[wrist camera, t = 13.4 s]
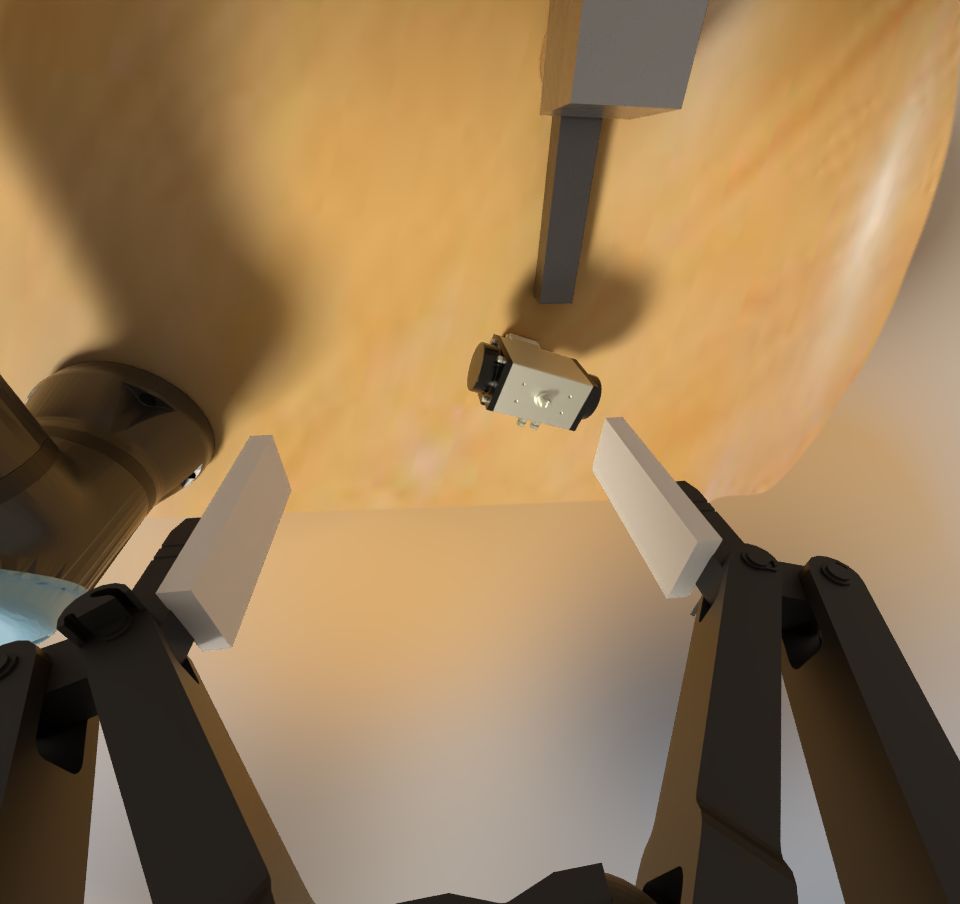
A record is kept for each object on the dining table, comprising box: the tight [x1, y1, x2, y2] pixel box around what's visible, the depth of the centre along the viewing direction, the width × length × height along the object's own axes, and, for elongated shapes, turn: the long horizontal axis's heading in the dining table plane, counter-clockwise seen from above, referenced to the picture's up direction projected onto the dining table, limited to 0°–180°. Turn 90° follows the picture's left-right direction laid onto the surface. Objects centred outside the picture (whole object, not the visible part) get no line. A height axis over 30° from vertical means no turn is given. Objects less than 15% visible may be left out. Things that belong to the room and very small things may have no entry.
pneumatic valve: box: [467, 333, 601, 431], centre depth 38 cm, size 6×12×12 cm, turn 70°
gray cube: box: [540, 0, 709, 119], centre depth 24 cm, size 7×7×7 cm
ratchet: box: [534, 32, 602, 304], centre depth 30 cm, size 6×20×7 cm, turn 178°
